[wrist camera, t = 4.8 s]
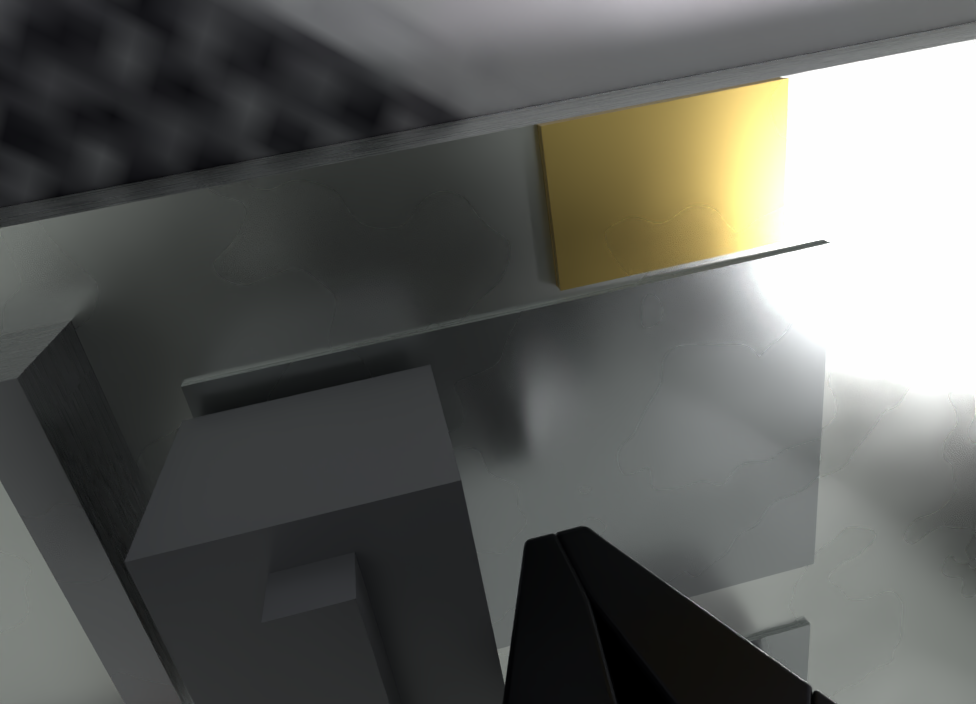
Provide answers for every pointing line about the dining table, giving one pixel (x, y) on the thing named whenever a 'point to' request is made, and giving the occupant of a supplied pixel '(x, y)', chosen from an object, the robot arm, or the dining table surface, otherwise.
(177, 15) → the dining table surface
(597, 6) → the dining table surface
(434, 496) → the toggle
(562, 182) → the panel
